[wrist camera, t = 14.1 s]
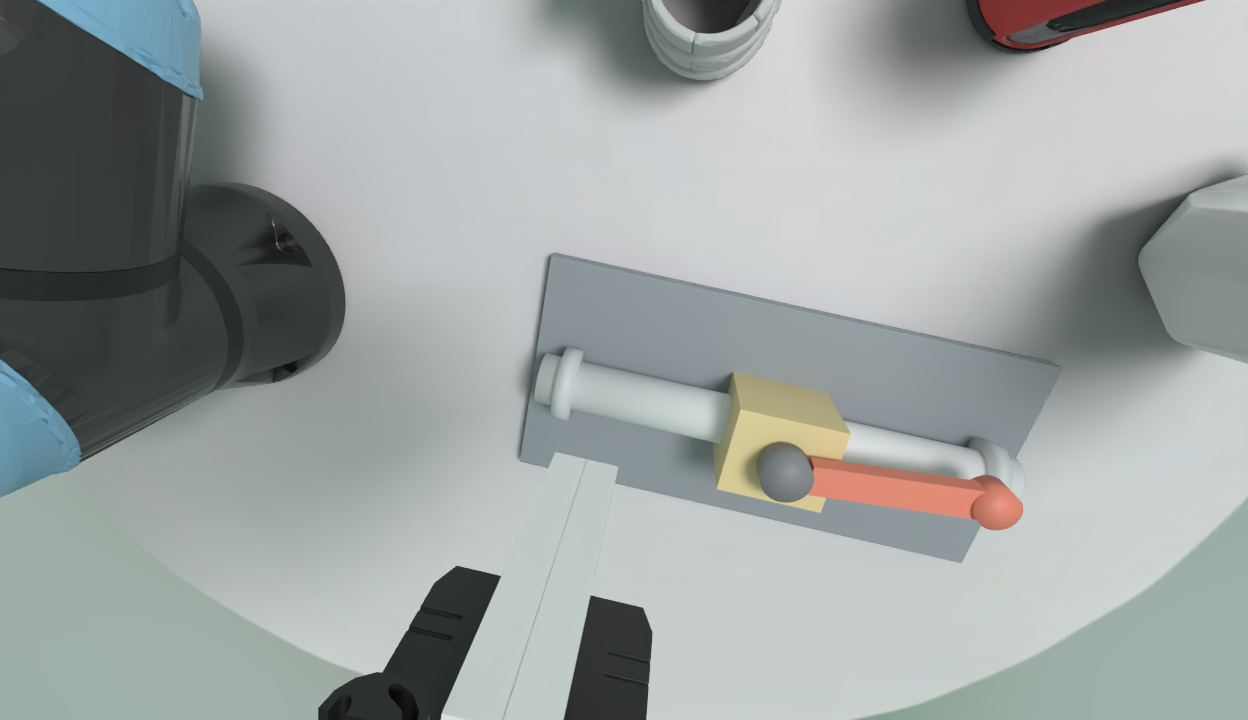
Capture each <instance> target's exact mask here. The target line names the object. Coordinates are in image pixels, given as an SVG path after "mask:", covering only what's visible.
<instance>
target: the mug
mask: <svg viewBox="0 0 1248 720" xmlns="http://www.w3.org/2000/svg"><path fill="white" fill-rule="evenodd" d="M638 1H642V3H643V20H644V26H645V31H646V34H647V37H648V40H649V42H650V45H651V47H652V48H653V50H654V52H655V53H656V56H657V58H658V59H659V60H660V61H661V62H662V63H664V64H665V65H666V66H667V67H668V68H670V69H671V70H672V71H674V72H675V73H677V74H679V75H681V76H684V77H687V78H690V79H695V80H713V79H721V78H723V77H724V76H727V75H729V74H731V73H733V72H735V71H737V70H738V69H740V68H741V67H743V66H744V65H745V64H746V63H747V62H748V61H749V60H750V59H751V58H752V57H753V56H754V55H755V53H756V52H757V51H758V50H759V49H760V47H761V46H762V44H763V42H764V40H765V38H766V35H767V34H768V33H769V31H770V29H771V26H772V22H773V21H772V19H773V17H774V15H775V13H777V11H778V10H779V8H780V4H781V0H751V1H750V2H749V4H748V5H747V7H746V8H745V10H744V11H743V13H742V14H741V16H740V18H739V19H738V21H737V22H736V24H735V25H734V27H733V28H732V29H730V30H727V31H724V32H720V33H712V34H706V33H695V32H694V31H692V30H690V29H688V28H686V27H684V26H682V25H681V24H680V23H678V22H677V21H676V20H675V19H674V18H673V17H672V16H671V14H670V13H669V12H668V11H667V9H666V8H665V6H664V4H663V2H662V0H638Z"/></svg>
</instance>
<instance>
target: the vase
mask: <svg viewBox="0 0 1248 720" xmlns="http://www.w3.org/2000/svg"><path fill="white" fill-rule="evenodd" d="M1138 266H1139V268H1140V271H1141V273H1142V276H1143V278H1144V280H1145V283H1146V285H1147V287H1148V290H1149V292H1150V294H1151V296H1152V299H1153V301H1154V303H1155V306H1156V308H1157V310H1158V312H1159V315H1160V317H1161V319H1162V322H1163V324H1164V326H1165V328H1166V330H1167V333H1168V334H1169V336H1170V337H1171V338H1172V339H1174V340H1176V341H1178V342H1179V343H1182V344H1185V345H1188V346H1191V347H1195V348H1198V349H1201V350H1204V351H1207V352H1210V353H1214V354H1217V355H1220V356H1224V357H1227V358H1230V359H1234V360H1237V361H1241V362H1244V363H1247V364H1248V174H1247V175H1243V176H1240V177H1237V178H1234V179H1230V180H1227V181H1224V182H1220V183H1217V184H1214V185H1211V186H1208V187H1205V188H1201V189H1198V190H1197V191H1195V192H1193V193H1191V194H1189V195H1188V196H1187V198H1186V199H1185V200H1184V201H1183V202H1182V203H1181V204H1180V205H1179V206H1178V208H1177V209H1176V210H1175V211H1174V212H1173V213H1172V214H1171V215H1170V217H1169V218H1168V219H1167V220H1166V221H1165V222H1164V223H1163V225H1162V226H1161V227H1160V228H1159V229H1158V230H1157V232H1156V233H1155V234H1154V235H1153V236H1152V237H1151V239H1150V240H1149V241H1148V242H1147V243H1146V244H1145V246H1144V247H1143V248H1142V249H1141V250H1140V252H1139V258H1138Z"/></svg>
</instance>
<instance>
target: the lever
mask: <svg viewBox="0 0 1248 720" xmlns="http://www.w3.org/2000/svg"><path fill="white" fill-rule="evenodd" d="M757 471H758V475H759V480H760V485H761V488H762V490H763V492H764V493H765V494H766V495H767V496H768V497H769V498H771V499H773V500H775V501H778V502H783V503H790V502H795V501H798V500H800V499H802V498H804V497H805V496H806V495H811V496H817V497H824V498H831V499H838V500H845V501H852V502H858V503H865V504H872V505H879V506H886V507H893V508H900V509H906V510H913V511H920V512H927V513H934V514H941V515H947V516H954V517H961V518H968V519H975V520H977V521H978V523H979V524H980V525H981V526H983V527H984V528H986V529H990V530H1003V529H1006V528H1009V527H1011V526H1013V525H1014V524H1015V523H1017V522H1018V521H1019V519H1020V518H1021V516H1022V513H1023V505H1022V503H1021V501H1020V500H1019V499H1018V498H1017V496H1016V495H1015V494H1014V493H1013V492H1012V491H1011V490H1010V489H1009V488H1008V487H1007V486H1006V485H1005V484H1004V483H1003V482H1002V481H1001V480H1000V479H999V478H997V477H995V476H992V475H981V476H977V477H974V478H972V479H971V480H968V479H961V478H954V477H947V476H940V475H933V474H926V473H919V472H912V471H905V470H898V469H891V468H884V467H877V466H870V465H863V464H856V463H848V462H841V461H834V460H827V459H820V458H813V457H810V461H808V458H807V456H806V454H805V453H804V451H803V450H802V449H801V448H799V447H798V446H796V445H794V444H790V443H776V444H773V445H771V446H769V447H767V448H766V449H765V450H763V451H762V453H761V454H760V455H759V458H758V460H757Z"/></svg>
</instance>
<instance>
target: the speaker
mask: <svg viewBox="0 0 1248 720" xmlns="http://www.w3.org/2000/svg"><path fill="white" fill-rule="evenodd" d="M1201 1H1204V0H967V5H968V11H969V15H970V17H971V20H972V22H973V24H974V26H975V28H976V29H977V31H978V32H979V34H981V36H982V37H983V38H984V39H985V40H986V41H988V42H989V43H990V44H992V45H993V46H995V47H997V48H999V49H1002V50H1005V51H1009V52H1015V53H1029V52H1036V51H1040V50H1044V49H1047V48H1051V47H1054V46H1057V45H1059V44H1062V43H1064V42H1066V41H1068V40H1070V39H1071V38H1074V37H1077V36H1081V35H1085V34H1088V33H1092V32H1095V31H1099V30H1102V29H1106V28H1109V27H1113V26H1116V25H1120V24H1123V23H1127V22H1130V21H1134V20H1137V19H1141V18H1144V17H1148V16H1151V15H1155V14H1158V13H1162V12H1165V11H1169V10H1172V9H1176V8H1179V7H1183V6H1187V5H1190V4H1194V3H1197V2H1201Z"/></svg>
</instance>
